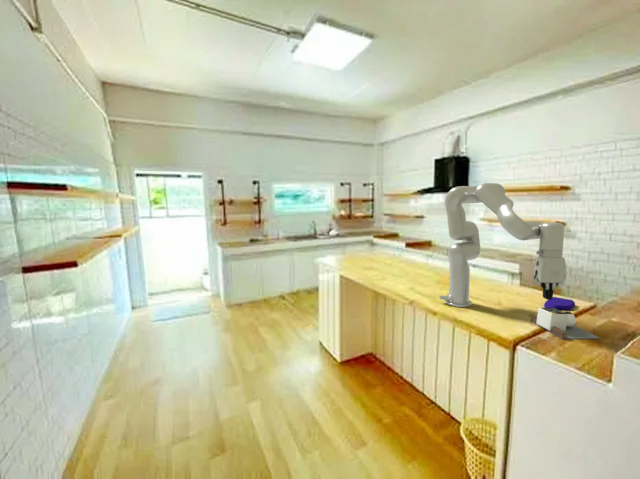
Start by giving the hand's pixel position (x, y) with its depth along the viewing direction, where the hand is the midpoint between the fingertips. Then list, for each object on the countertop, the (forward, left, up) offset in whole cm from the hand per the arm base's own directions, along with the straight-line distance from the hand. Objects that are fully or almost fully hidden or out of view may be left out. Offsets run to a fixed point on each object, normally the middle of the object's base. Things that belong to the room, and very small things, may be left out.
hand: (547, 298), depth 125 cm
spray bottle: (+22, +24, -14) cm, 35 cm away
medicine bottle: (-1, 0, -9) cm, 9 cm away
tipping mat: (+7, 0, -13) cm, 15 cm away
